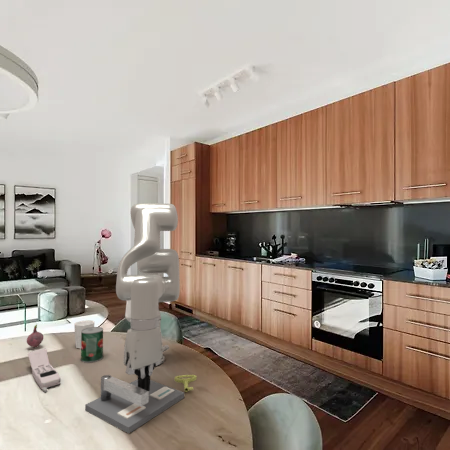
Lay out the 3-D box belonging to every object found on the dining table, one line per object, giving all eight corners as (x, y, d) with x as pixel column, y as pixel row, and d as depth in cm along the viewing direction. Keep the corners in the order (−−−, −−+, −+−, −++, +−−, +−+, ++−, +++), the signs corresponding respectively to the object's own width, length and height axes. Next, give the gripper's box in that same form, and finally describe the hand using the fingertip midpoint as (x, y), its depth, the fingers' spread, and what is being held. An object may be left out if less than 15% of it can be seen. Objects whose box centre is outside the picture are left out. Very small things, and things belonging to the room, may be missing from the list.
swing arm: (107, 394, 89) (107, 374, 90) (149, 413, 80) (149, 390, 80) (98, 398, 87) (98, 377, 87) (140, 418, 77) (140, 395, 78)
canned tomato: (106, 358, 120) (106, 329, 120) (86, 364, 114) (86, 334, 115) (97, 353, 126) (97, 325, 126) (77, 358, 120) (77, 329, 120)
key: (185, 396, 92) (185, 389, 93) (172, 379, 103) (172, 373, 104) (207, 391, 96) (207, 383, 96) (192, 375, 107) (192, 368, 107)
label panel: (142, 381, 101) (142, 375, 101) (184, 397, 91) (184, 391, 91) (85, 410, 84) (85, 403, 84) (128, 433, 74) (128, 425, 74)
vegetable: (27, 352, 127) (27, 327, 127) (25, 347, 132) (26, 323, 132) (44, 348, 130) (44, 324, 131) (42, 344, 135) (42, 321, 136)
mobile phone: (45, 347, 116) (63, 368, 97) (45, 363, 116) (63, 387, 97) (26, 351, 112) (41, 374, 93) (26, 368, 112) (41, 394, 93)
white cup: (98, 345, 135) (98, 322, 135) (81, 350, 128) (81, 326, 128) (86, 341, 139) (87, 319, 139) (70, 347, 132) (70, 323, 132)
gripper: (158, 315, 95) (158, 377, 94) (112, 326, 84) (111, 395, 83) (174, 320, 90) (173, 385, 89) (127, 332, 79) (126, 406, 78)
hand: (144, 390), depth 86 cm, fingers closed
